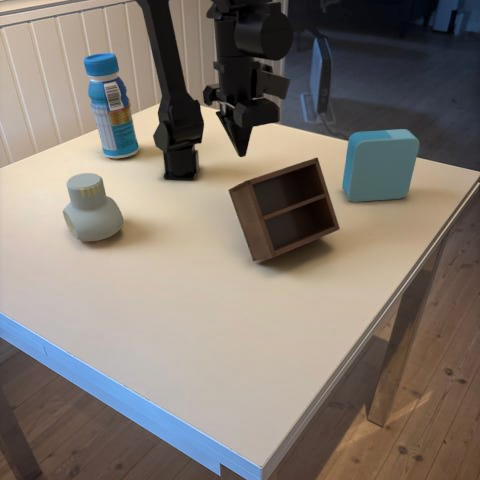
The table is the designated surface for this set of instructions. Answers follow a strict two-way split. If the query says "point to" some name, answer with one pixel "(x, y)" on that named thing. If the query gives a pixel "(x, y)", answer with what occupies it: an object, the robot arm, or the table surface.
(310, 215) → the shelf
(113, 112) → the beverage bottle
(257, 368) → the table surface
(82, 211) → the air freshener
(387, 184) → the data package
